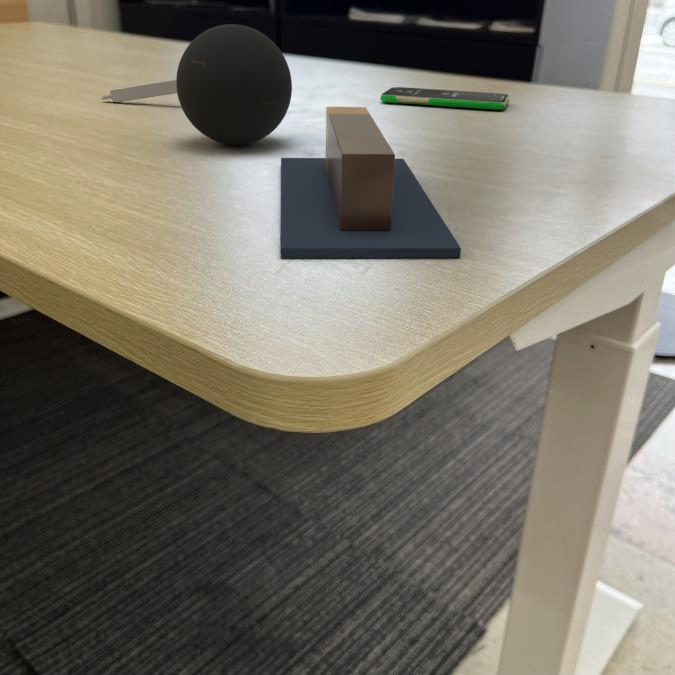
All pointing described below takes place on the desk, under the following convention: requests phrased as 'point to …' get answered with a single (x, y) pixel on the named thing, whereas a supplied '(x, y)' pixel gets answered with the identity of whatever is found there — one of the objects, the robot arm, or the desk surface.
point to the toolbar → (359, 169)
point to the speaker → (234, 84)
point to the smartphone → (446, 98)
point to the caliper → (142, 91)
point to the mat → (330, 242)
